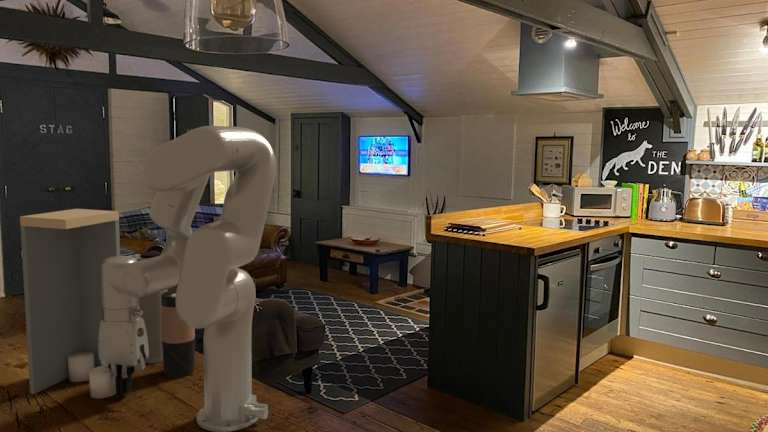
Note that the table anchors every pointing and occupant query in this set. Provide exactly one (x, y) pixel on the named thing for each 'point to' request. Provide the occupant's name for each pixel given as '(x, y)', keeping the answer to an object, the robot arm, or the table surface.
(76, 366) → the cream rounded knob
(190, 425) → the table surface
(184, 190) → the robot arm
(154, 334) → the thermos bottle
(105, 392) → the cream smooth rounded cylinder
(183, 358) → the travel mug
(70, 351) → the counter
